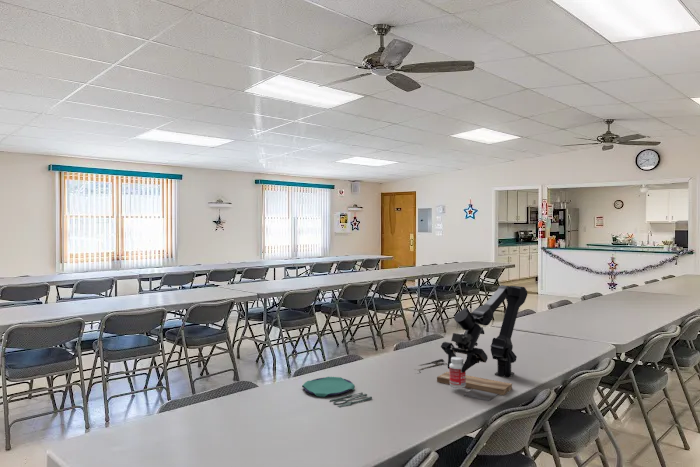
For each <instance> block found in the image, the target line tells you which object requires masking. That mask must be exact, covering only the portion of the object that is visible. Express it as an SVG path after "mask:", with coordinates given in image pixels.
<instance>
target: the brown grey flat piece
mask: <svg viewBox="0 0 700 467" xmlns="http://www.w3.org/2000/svg"><path fill="white" fill-rule="evenodd" d="M436 383H441V384H445V385H450V373H449V371H446V372H444V373H442V374H440V375H438V376H437V377H436ZM464 388H467V389H470V390H469V391H467V392H465V393H464V394H463V396H464V397H468V398H472V399H478V400H481V401H482V400H483V401H487V402H490V401H491V400H493V399H494V398H496V397H497V396H498V395H500V396H505V395H506V394H508V392H510V391H511V390H513V383H510V382H505V381H504V382H503V381H500V380H499V381H498V380H494V379H488V378H483V377H478V376H472V375H468V374H466V386H465V387H464Z"/></svg>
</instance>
